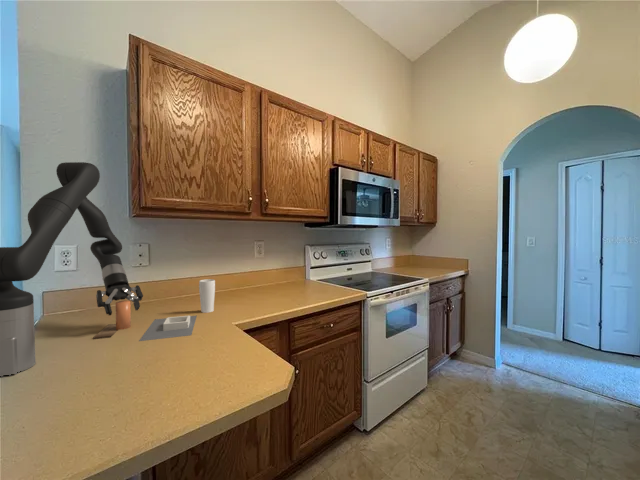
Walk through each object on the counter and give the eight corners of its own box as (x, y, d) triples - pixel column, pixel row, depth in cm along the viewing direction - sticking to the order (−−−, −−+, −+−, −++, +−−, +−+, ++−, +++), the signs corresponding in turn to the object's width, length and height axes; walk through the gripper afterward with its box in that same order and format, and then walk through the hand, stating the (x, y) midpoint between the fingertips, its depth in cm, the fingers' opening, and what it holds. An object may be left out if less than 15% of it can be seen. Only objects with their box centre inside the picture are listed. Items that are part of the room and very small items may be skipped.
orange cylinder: (128, 329, 105) (128, 303, 104) (114, 330, 103) (113, 304, 103) (132, 325, 109) (132, 300, 108) (118, 326, 107) (118, 301, 107)
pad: (140, 334, 102) (139, 332, 102) (93, 339, 97) (93, 337, 97) (149, 322, 115) (149, 320, 115) (108, 326, 110) (108, 324, 110)
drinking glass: (196, 313, 126) (195, 281, 126) (208, 310, 132) (208, 278, 132) (206, 316, 123) (206, 282, 123) (218, 312, 129) (218, 279, 129)
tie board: (191, 338, 98) (191, 328, 98) (138, 344, 93) (138, 333, 93) (196, 317, 121) (196, 309, 121) (154, 321, 116) (154, 313, 115)
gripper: (93, 274, 105) (102, 310, 98) (137, 270, 115) (148, 302, 108) (91, 286, 108) (99, 321, 101) (133, 281, 119) (143, 313, 112)
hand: (124, 311), depth 105 cm, fingers open, 8 cm apart
